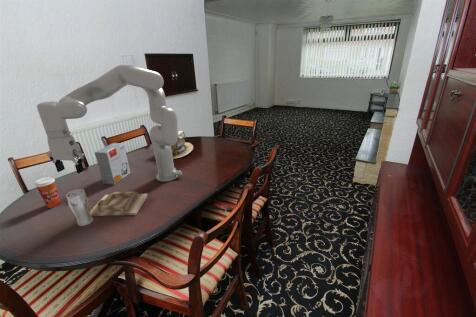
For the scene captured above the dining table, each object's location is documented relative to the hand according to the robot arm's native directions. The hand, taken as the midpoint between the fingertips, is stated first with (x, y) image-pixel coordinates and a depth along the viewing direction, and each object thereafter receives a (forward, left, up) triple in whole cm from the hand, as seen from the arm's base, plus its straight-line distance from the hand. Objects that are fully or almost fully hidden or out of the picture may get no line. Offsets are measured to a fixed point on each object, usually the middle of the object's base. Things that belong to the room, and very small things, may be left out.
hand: (71, 171), depth 102 cm
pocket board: (-13, -6, -22) cm, 27 cm away
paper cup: (+21, -8, -23) cm, 32 cm away
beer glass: (-3, +6, -23) cm, 24 cm away
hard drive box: (+1, -34, -23) cm, 41 cm away
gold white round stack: (-26, -73, -23) cm, 80 cm away
